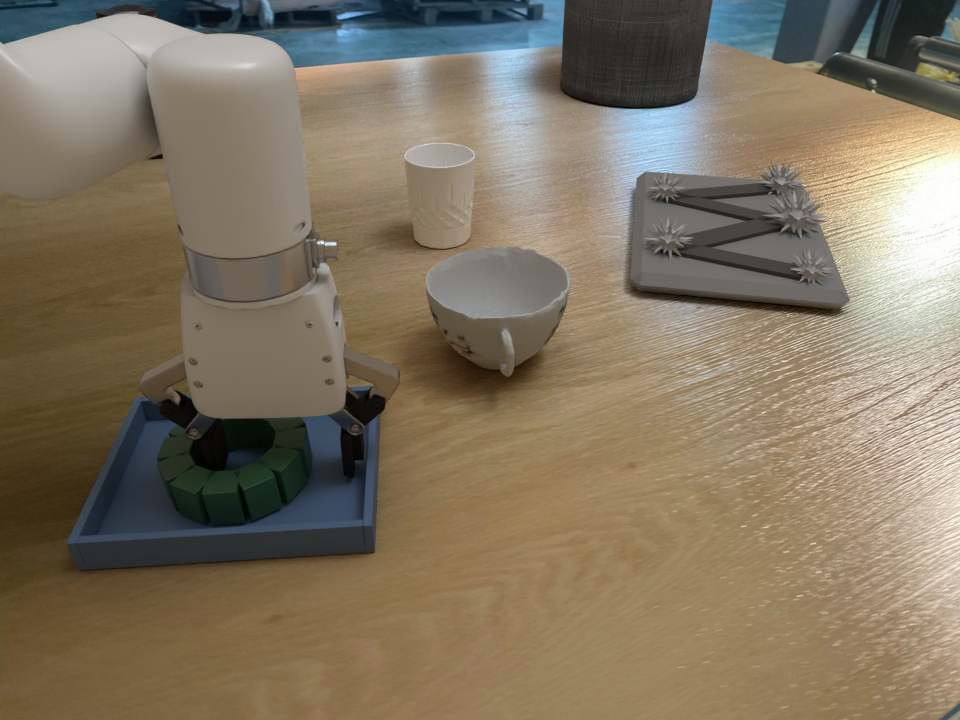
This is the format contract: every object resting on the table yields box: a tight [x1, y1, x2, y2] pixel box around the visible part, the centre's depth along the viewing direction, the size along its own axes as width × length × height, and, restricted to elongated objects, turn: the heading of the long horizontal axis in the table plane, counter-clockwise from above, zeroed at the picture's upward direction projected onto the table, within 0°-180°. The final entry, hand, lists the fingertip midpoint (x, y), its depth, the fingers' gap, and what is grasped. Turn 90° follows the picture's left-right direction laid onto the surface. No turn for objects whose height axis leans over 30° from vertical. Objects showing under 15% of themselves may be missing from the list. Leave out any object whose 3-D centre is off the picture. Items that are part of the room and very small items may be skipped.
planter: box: [559, 0, 714, 108], centre depth 135 cm, size 25×25×22 cm
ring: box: [157, 417, 313, 525], centre depth 55 cm, size 10×10×3 cm
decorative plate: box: [629, 160, 851, 310], centre depth 87 cm, size 30×22×7 cm
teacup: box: [424, 245, 571, 378], centre depth 67 cm, size 15×12×8 cm
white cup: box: [403, 142, 476, 250], centre depth 87 cm, size 8×8×10 cm
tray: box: [66, 385, 382, 571], centre depth 56 cm, size 19×15×3 cm
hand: (285, 466), depth 56 cm, fingers open, 9 cm apart
